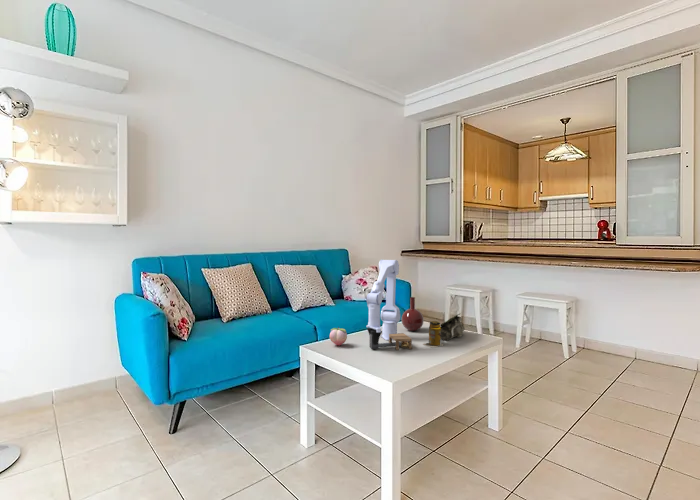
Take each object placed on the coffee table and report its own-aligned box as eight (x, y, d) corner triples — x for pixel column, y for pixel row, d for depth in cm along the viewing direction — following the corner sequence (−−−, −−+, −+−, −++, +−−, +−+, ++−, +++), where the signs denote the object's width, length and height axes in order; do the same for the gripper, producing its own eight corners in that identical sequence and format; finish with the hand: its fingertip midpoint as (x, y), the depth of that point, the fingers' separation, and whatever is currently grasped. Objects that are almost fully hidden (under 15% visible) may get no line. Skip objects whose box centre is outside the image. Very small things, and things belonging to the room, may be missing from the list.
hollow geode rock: (441, 351, 205) (460, 334, 198) (425, 333, 209) (443, 315, 203) (459, 338, 227) (477, 323, 221) (444, 322, 232) (461, 306, 225)
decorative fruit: (349, 343, 203) (349, 325, 203) (345, 348, 195) (344, 328, 195) (332, 342, 206) (332, 324, 205) (327, 347, 198) (327, 327, 198)
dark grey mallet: (369, 346, 195) (369, 333, 195) (399, 344, 199) (399, 331, 199) (371, 348, 192) (371, 334, 192) (402, 346, 196) (402, 332, 196)
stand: (388, 344, 202) (388, 334, 202) (403, 343, 204) (403, 333, 204) (396, 350, 192) (396, 339, 192) (411, 349, 194) (411, 338, 194)
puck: (399, 345, 200) (399, 341, 200) (408, 345, 201) (408, 340, 201) (402, 348, 195) (402, 344, 195) (411, 347, 196) (411, 343, 196)
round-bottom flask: (412, 327, 241) (412, 295, 240) (428, 331, 230) (428, 298, 229) (397, 330, 233) (397, 297, 233) (412, 334, 222) (412, 300, 222)
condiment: (444, 345, 200) (444, 322, 200) (432, 347, 196) (432, 324, 195) (433, 342, 207) (434, 319, 206) (422, 344, 202) (422, 321, 201)
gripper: (362, 314, 199) (362, 340, 200) (371, 320, 185) (371, 348, 186) (375, 313, 201) (375, 339, 202) (384, 319, 187) (384, 346, 188)
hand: (374, 343), depth 194 cm, fingers closed on dark grey mallet, 4 cm apart
